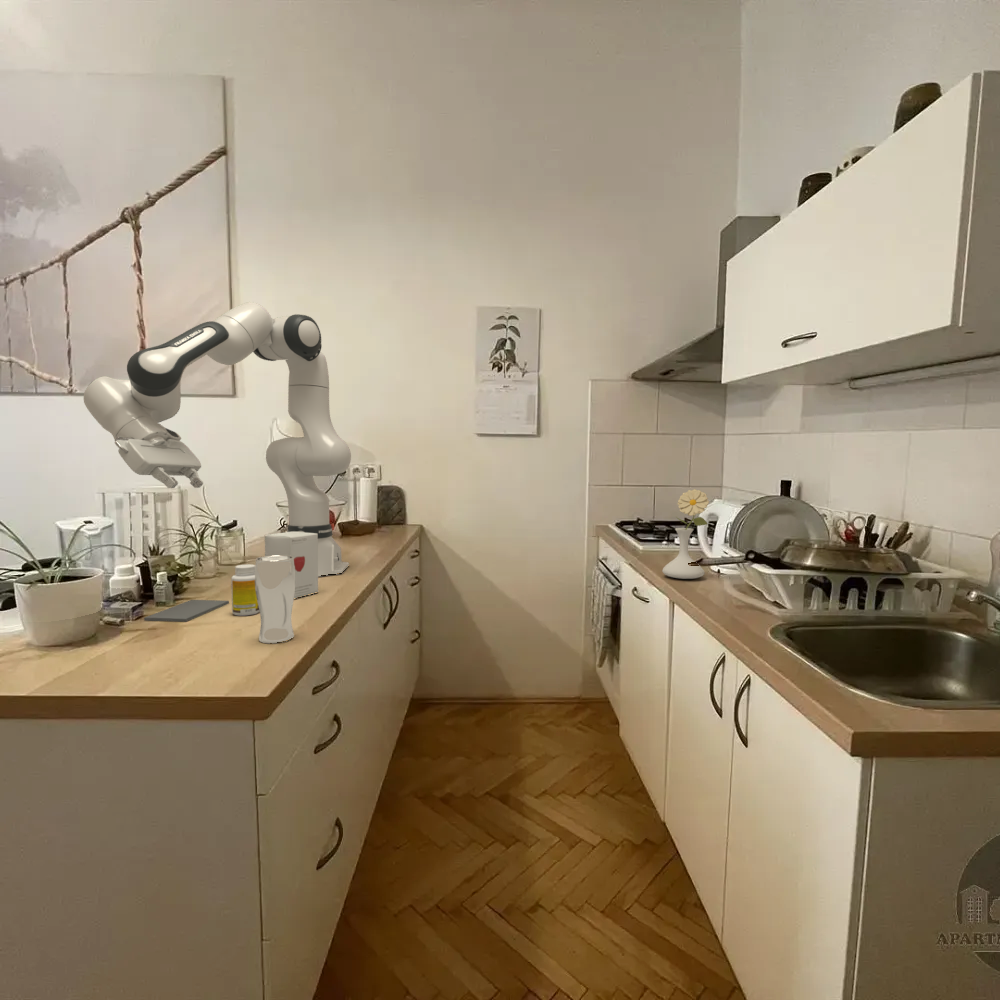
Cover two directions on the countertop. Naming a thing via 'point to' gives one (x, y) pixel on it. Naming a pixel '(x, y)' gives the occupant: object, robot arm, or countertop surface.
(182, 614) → the mat
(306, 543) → the supplement box
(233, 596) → the supplement bottle
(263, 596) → the beer glass
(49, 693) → the countertop surface
